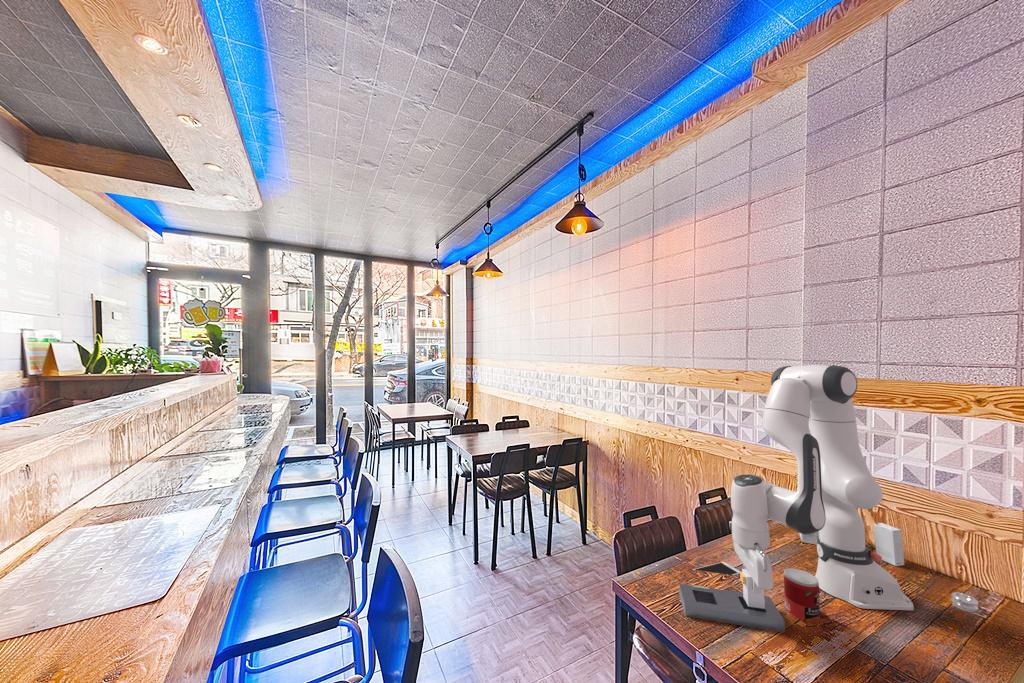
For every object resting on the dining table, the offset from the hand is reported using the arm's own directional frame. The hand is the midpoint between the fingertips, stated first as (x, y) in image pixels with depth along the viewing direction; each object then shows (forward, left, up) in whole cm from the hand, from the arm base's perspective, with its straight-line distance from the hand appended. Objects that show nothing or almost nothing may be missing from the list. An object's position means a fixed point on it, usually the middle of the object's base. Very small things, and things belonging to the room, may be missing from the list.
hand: (753, 586), depth 104 cm
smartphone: (+5, -22, -10) cm, 24 cm away
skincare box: (-56, -45, -9) cm, 73 cm away
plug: (0, 0, -5) cm, 5 cm away
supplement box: (-41, -57, -9) cm, 71 cm away
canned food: (-13, -5, -9) cm, 17 cm away
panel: (+7, 0, -9) cm, 11 cm away
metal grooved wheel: (-61, -21, -9) cm, 65 cm away
